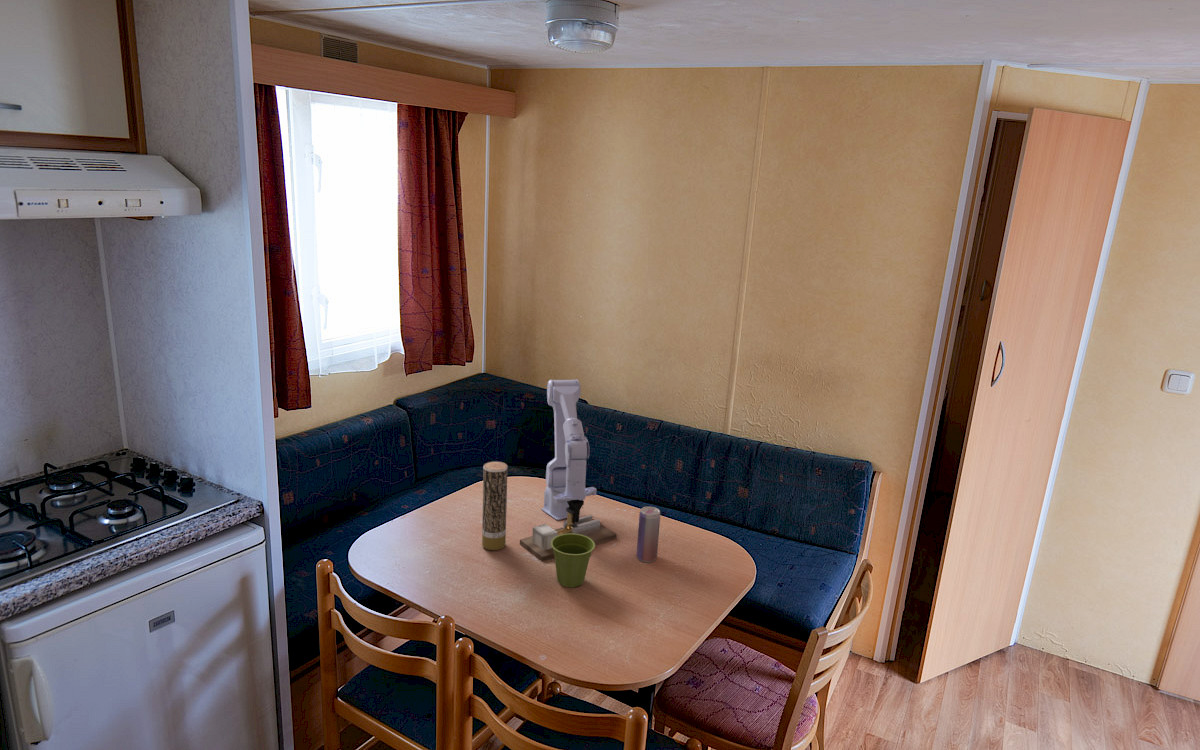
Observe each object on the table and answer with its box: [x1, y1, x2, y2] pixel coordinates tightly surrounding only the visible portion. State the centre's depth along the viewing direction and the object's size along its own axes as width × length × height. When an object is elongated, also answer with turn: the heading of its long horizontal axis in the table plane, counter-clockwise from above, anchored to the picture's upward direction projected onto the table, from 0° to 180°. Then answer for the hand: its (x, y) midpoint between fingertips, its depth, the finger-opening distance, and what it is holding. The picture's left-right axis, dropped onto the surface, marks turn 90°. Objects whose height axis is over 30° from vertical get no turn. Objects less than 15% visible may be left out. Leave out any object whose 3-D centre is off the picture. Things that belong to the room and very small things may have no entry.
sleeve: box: [563, 514, 601, 536], centre depth 225 cm, size 5×10×4 cm, turn 127°
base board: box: [519, 518, 618, 562], centre depth 223 cm, size 12×27×2 cm, turn 127°
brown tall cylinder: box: [481, 461, 509, 551], centre depth 215 cm, size 7×7×25 cm
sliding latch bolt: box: [556, 507, 575, 535], centre depth 219 cm, size 3×11×8 cm, turn 127°
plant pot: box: [551, 533, 596, 588], centre depth 200 cm, size 12×12×11 cm
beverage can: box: [635, 505, 661, 563], centre depth 214 cm, size 6×6×15 cm
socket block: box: [531, 523, 558, 550], centre depth 217 cm, size 6×4×4 cm
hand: (573, 521), depth 223 cm, fingers closed, pressing on sliding latch bolt
